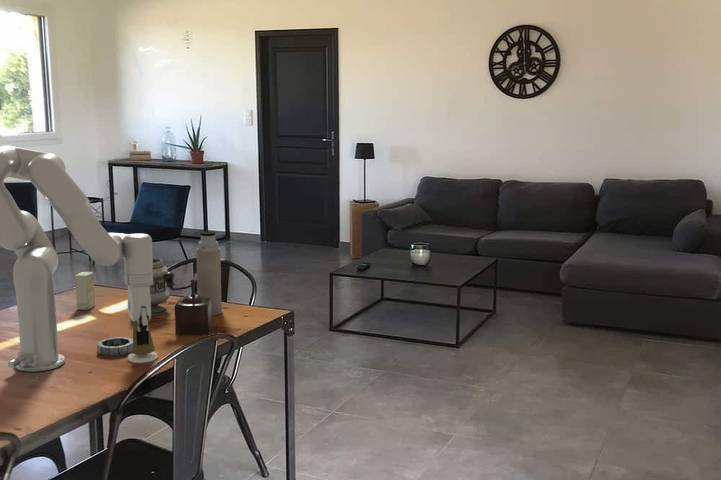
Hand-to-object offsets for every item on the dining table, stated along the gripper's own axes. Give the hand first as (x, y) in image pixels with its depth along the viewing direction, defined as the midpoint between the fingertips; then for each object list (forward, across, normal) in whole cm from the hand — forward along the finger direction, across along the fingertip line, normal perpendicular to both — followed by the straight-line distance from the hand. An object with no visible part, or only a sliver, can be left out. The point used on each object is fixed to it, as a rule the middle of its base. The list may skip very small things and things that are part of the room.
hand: (141, 341), depth 211 cm
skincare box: (+5, -62, -8) cm, 62 cm away
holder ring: (+5, -10, -5) cm, 12 cm away
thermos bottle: (+5, -38, +30) cm, 49 cm away
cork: (+3, 0, +1) cm, 3 cm away
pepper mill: (+5, -22, +18) cm, 29 cm away
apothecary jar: (+5, -47, +12) cm, 49 cm away
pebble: (+5, 0, 0) cm, 5 cm away
